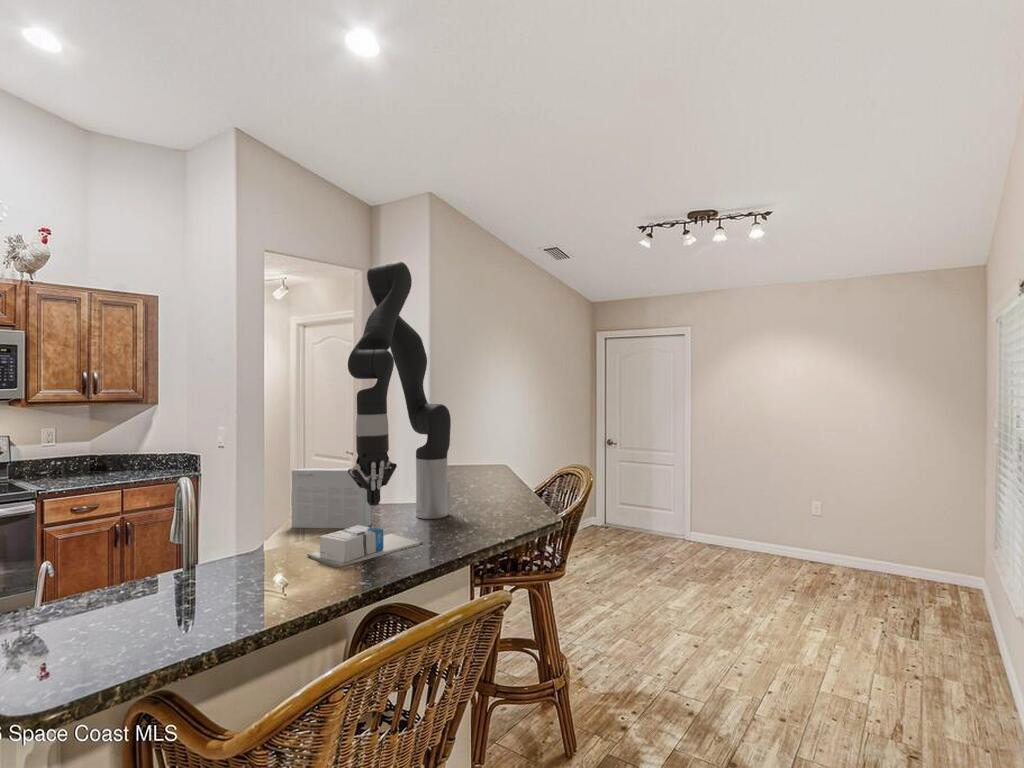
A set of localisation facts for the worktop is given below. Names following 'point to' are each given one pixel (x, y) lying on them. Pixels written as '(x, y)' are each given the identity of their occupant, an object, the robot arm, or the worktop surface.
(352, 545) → the ink box
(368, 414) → the robot arm
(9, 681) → the worktop surface
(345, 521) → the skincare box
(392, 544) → the mat
